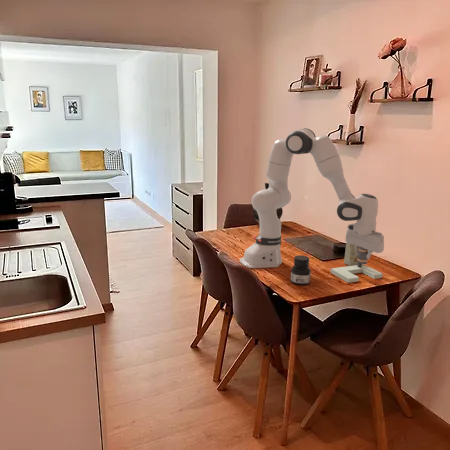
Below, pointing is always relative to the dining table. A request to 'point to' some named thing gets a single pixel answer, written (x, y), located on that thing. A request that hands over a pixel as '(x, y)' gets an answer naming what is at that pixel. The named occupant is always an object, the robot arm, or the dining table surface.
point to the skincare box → (350, 255)
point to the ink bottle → (300, 270)
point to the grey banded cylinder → (362, 255)
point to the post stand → (349, 271)
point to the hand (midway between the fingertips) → (362, 256)
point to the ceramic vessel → (278, 211)
